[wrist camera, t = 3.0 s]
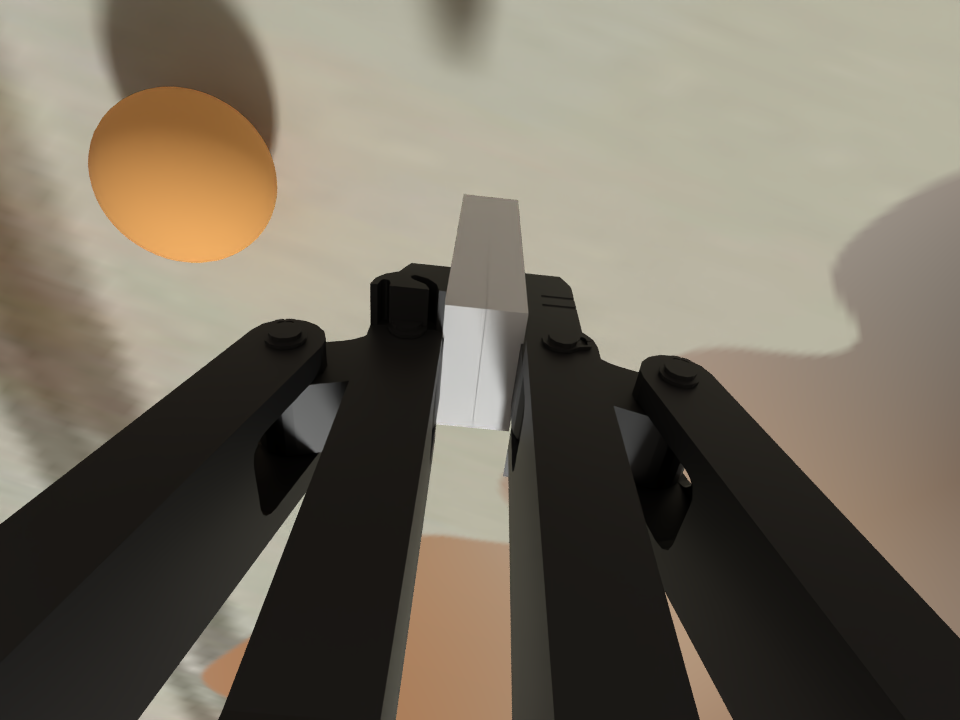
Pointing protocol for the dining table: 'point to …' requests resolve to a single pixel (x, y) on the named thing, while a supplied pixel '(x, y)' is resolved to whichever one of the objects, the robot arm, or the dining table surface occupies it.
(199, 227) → the ball
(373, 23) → the dining table surface
